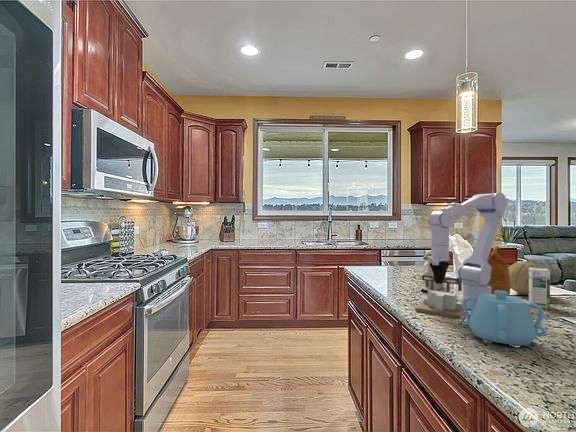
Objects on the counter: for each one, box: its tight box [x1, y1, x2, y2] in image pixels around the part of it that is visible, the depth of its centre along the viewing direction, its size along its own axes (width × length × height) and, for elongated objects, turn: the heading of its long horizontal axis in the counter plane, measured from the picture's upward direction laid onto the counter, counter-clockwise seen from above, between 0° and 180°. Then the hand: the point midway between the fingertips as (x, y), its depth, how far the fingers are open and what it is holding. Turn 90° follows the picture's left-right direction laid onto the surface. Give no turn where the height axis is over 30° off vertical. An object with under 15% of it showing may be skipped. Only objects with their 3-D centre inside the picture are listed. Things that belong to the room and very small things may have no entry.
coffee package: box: [486, 245, 511, 296], centre depth 133 cm, size 10×12×22 cm
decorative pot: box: [459, 290, 547, 347], centre depth 92 cm, size 16×16×14 cm
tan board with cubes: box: [414, 290, 465, 319], centre depth 118 cm, size 12×15×6 cm
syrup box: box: [528, 267, 551, 309], centre depth 125 cm, size 6×6×14 cm
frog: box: [419, 251, 453, 293], centre depth 148 cm, size 12×13×18 cm
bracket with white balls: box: [421, 273, 463, 292], centre depth 118 cm, size 8×12×5 cm, turn 54°
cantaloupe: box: [508, 260, 542, 296], centre depth 143 cm, size 15×15×15 cm
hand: (439, 283), depth 117 cm, fingers closed on bracket with white balls, 2 cm apart
